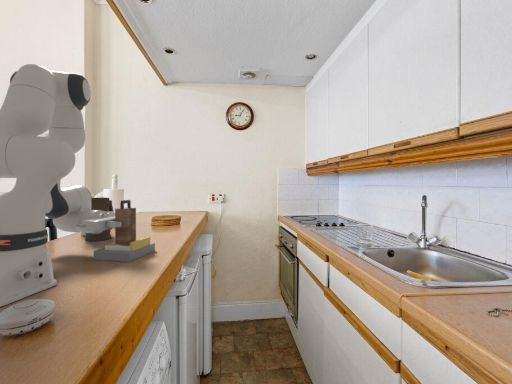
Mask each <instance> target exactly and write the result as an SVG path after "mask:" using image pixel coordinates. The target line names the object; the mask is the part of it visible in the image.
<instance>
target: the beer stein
mask: <svg viewBox="0 0 512 384" xmlns="http://www.w3.org/2000/svg"><path fill="white" fill-rule="evenodd" d="M91 210H101V211H113V212H114V206H113V201H112V200H111V199H110V197H103V198H102V197H92V209H91ZM112 230H113V228H110V229H106V230H104V231H103V232H101V233H98V234H96V233H86V235H85V238H84V239H85V241H87V242H99V241H106V240H110V239H111V238H112V235H111V233H112V232H111V231H112Z"/></svg>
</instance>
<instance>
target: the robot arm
mask: <svg viewBox="0 0 512 384" xmlns="http://www.w3.org/2000/svg"><path fill="white" fill-rule="evenodd" d="M91 90H92V89H91V86H90V84H89V81H88V79H87V78H85V77H84V76H83V75H81V74H80V73H76V72H75V73H74V72H70V73H69V72H64V71H56V70H49V69H47V68H46V67H44V66H41V65H38V64H34V63H29V64H25V65H22V66H20V67H19V69H18V70H16V71H14V72H13V73H12V74H11V76H10V78H9V85H8V89H7V92H6V93H5V96H4V101H3V102H2V105H1V107H0V179H16V181H15V184H14V187H13V188H12V189H11V190H10V191H7V192H5V193H2V194H1V195H0V308H1V307H3V306H6V305H9V304H11V303H14V302H17V301H19V300H22V299H25V298H27V297H29V296H31V295H35V294H37V293H39V292H42V291H44V290H47V289H50V288H52V287H54V286H57V285H58V282H57V281H58V280H57V279H55V278H54V270H53V264H52V257H51V253H50V251H49V249H48V246H47V243H48V242H49V233H48V229H47V228H46V217H47V218H49V219H52V223H53V226H54V227H55V228H56V229H58V230H60V231H63V232H67V233H81V232H84V233H96V234H98V233H101V232H103V231H104V230H106V229H110V228H112V229H115V227H122V226H123V225H124V224H123V222H121V221H119V222H115V211H114V210H113V211H101V210H91V209H92V198H93V195H92V193H91V192H90V190H89V189H88V188H87V187H86V186H84V185H82V184H77V185H71V186H66V187H61V181H62V179H63V178H65V177H66V176H68V175H69V174H70V173H71V172H72V171H73V169H74V168H75V165H76V153H78V152H79V151H81V150H82V149H83V147H84V146H85V144H86V130H85V129H86V128H85V122H84V117H83V114H82V110H83V109H84V108H85V107H86V106H87V105H88V103H90V100H91V95H92V92H91ZM46 132H48V136H40V135H43V134H45V133H46Z"/></svg>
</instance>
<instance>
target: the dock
mask: <svg viewBox="0 0 512 384" xmlns="http://www.w3.org/2000/svg"><path fill="white" fill-rule="evenodd" d="M153 252H156V243H155V242H151V236H146V237H144V238H143V237H142V238H140V239H136V241H133V242H130V244H129V245H120V244H115V243H114V244H104V247H102V248H98V249H96V250H93V260H97V261H112V262H127V263H130V262H133V261H135V260H137V259H140V258H142V257H144V256H147V255H148V254H151V253H153Z"/></svg>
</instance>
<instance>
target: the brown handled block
mask: <svg viewBox="0 0 512 384" xmlns="http://www.w3.org/2000/svg"><path fill="white" fill-rule="evenodd" d="M131 203H132V202H131V199H125V200H120V204H119V205H120V207H118V208H115V209H114V213H115V222H119V221H121V222H123V224H124V225H123V226H122V227H115V228H114V229H115V230H114V233H115V236H114V238H115V243H114V244H120V245H129V244H130V242H133V241H136V240H137V208H136V207H132V205H131ZM125 204H127V205H126V206H127V207H125Z"/></svg>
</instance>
